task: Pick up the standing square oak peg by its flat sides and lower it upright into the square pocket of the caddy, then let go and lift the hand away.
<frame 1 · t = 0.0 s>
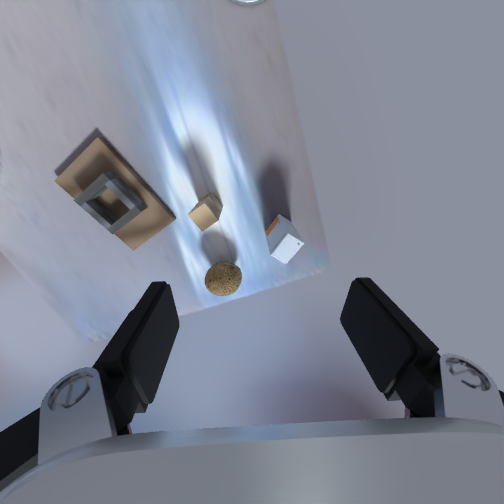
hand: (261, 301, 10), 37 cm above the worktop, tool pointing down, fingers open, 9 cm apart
natural sponge: (225, 266, 53), on the worktop
skincare box: (277, 226, 48), on the worktop
peg caddy: (121, 200, 43), on the worktop
oak peg: (210, 203, 44), on the worktop
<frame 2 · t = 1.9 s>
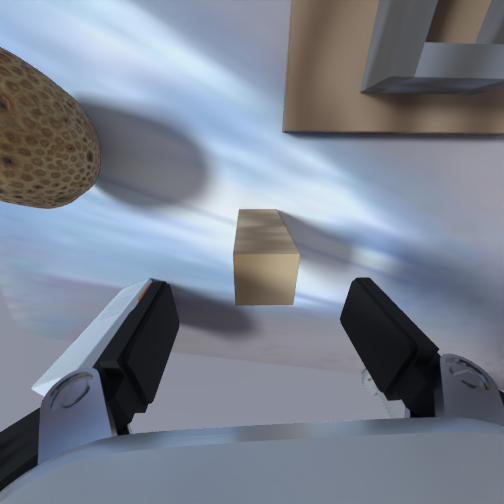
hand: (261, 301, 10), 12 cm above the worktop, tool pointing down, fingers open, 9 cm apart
natural sponge: (81, 142, 17), on the worktop
skincare box: (151, 297, 26), on the worktop
peg caddy: (425, 21, 14), on the worktop
oak peg: (257, 227, 21), on the worktop
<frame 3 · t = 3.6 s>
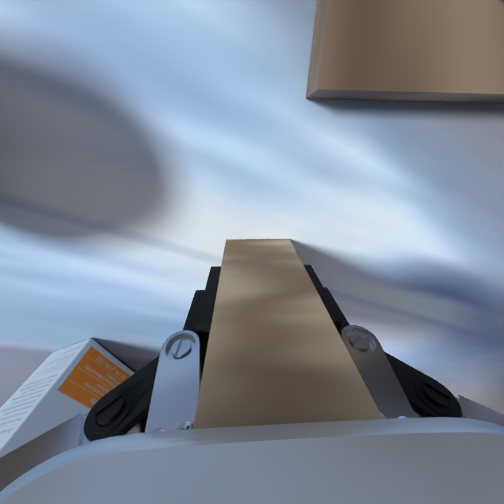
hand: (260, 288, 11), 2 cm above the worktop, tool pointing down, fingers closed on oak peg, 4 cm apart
skincare box: (100, 359, 17), on the worktop
oak peg: (257, 266, 13), on the worktop, touching gripper
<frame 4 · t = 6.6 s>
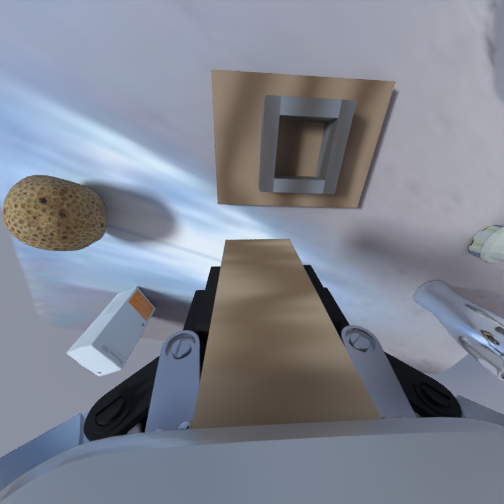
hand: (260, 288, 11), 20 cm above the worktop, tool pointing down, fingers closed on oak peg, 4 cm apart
natural sponge: (93, 204, 27), on the worktop
skincare box: (138, 299, 36), on the worktop
beer glass: (428, 291, 38), on the worktop
peg caddy: (293, 149, 25), on the worktop
oak peg: (257, 266, 13), point 17 cm above the worktop, touching gripper
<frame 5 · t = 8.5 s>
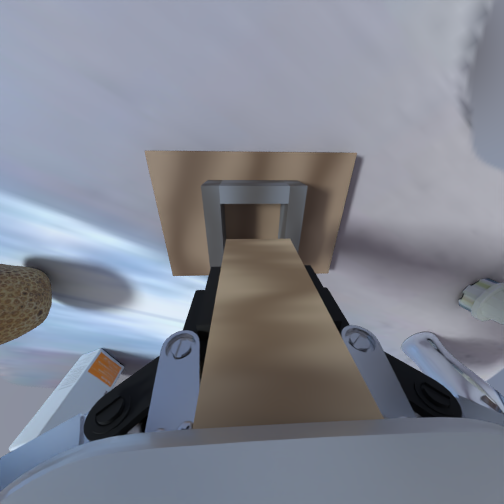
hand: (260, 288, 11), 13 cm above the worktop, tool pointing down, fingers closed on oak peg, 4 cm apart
natural sponge: (41, 276, 25), on the worktop
skincare box: (105, 358, 34), on the worktop
beer glass: (417, 341, 35), on the worktop
peg caddy: (251, 218, 23), on the worktop
oak peg: (257, 265, 13), point 11 cm above the worktop, touching gripper
when the fingers open (6 cm above the worktop, at t = 10.1 s): oak peg drops 2 cm, resting on peg caddy.
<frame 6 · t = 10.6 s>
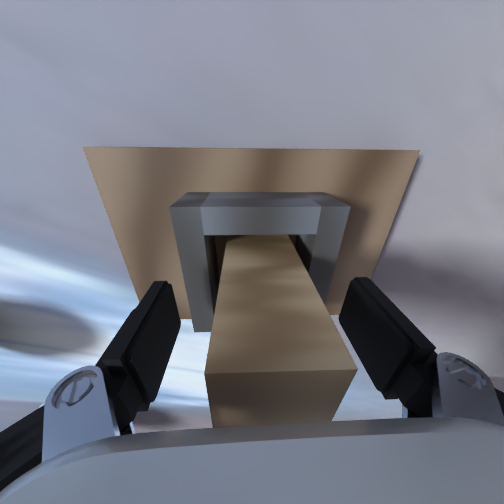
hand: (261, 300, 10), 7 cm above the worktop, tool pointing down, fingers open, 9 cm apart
peg caddy: (254, 243, 16), on the worktop
oak peg: (255, 252, 15), point 1 cm above the worktop, touching peg caddy
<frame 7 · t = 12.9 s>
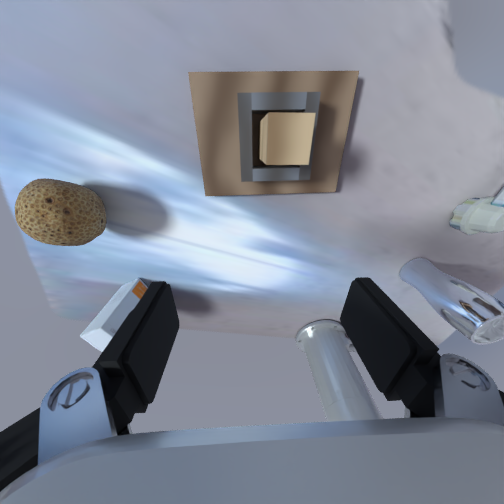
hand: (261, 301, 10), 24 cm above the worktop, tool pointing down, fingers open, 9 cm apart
natural sponge: (93, 203, 30), on the worktop
skincare box: (141, 289, 39), on the worktop
beer glass: (413, 269, 40), on the worktop
peg caddy: (271, 141, 27), on the worktop
oak peg: (273, 141, 26), point 1 cm above the worktop, touching peg caddy
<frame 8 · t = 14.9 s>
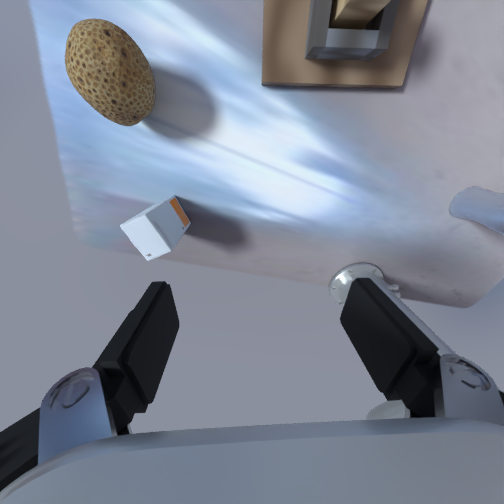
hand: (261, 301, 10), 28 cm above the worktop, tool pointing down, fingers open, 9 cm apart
natural sponge: (137, 91, 27), on the worktop
skincare box: (174, 212, 36), on the worktop
beer glass: (464, 201, 38), on the worktop
peg caddy: (340, 17, 25), on the worktop
oak peg: (345, 9, 23), point 1 cm above the worktop, touching peg caddy
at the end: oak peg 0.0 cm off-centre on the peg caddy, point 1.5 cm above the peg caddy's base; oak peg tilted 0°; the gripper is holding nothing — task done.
